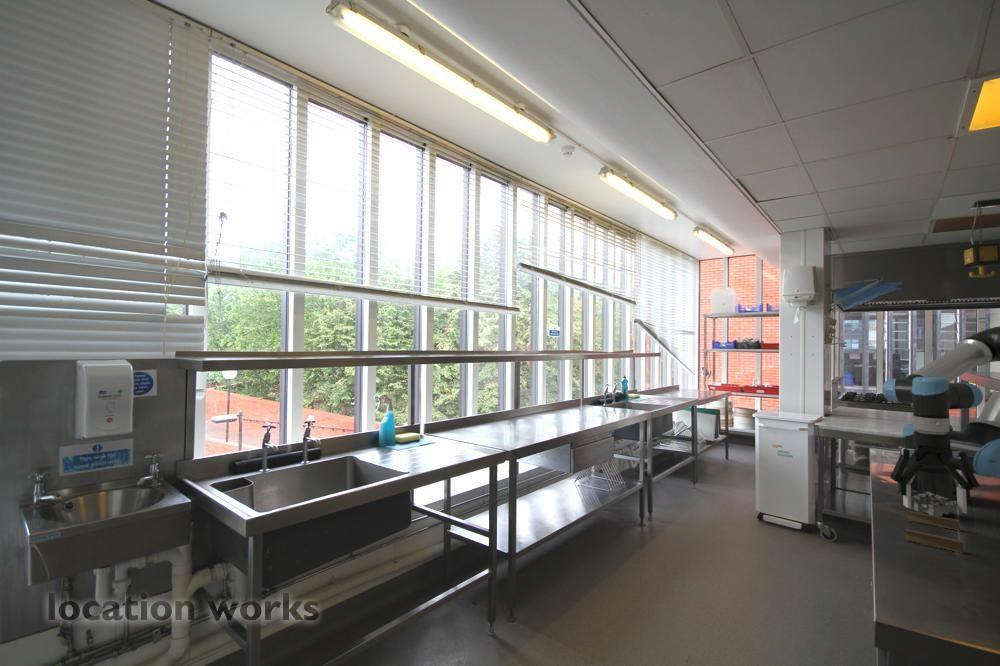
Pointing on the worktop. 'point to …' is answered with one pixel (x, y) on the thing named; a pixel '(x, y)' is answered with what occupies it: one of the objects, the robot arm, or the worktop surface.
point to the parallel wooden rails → (933, 539)
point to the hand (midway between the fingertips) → (934, 509)
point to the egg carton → (932, 504)
